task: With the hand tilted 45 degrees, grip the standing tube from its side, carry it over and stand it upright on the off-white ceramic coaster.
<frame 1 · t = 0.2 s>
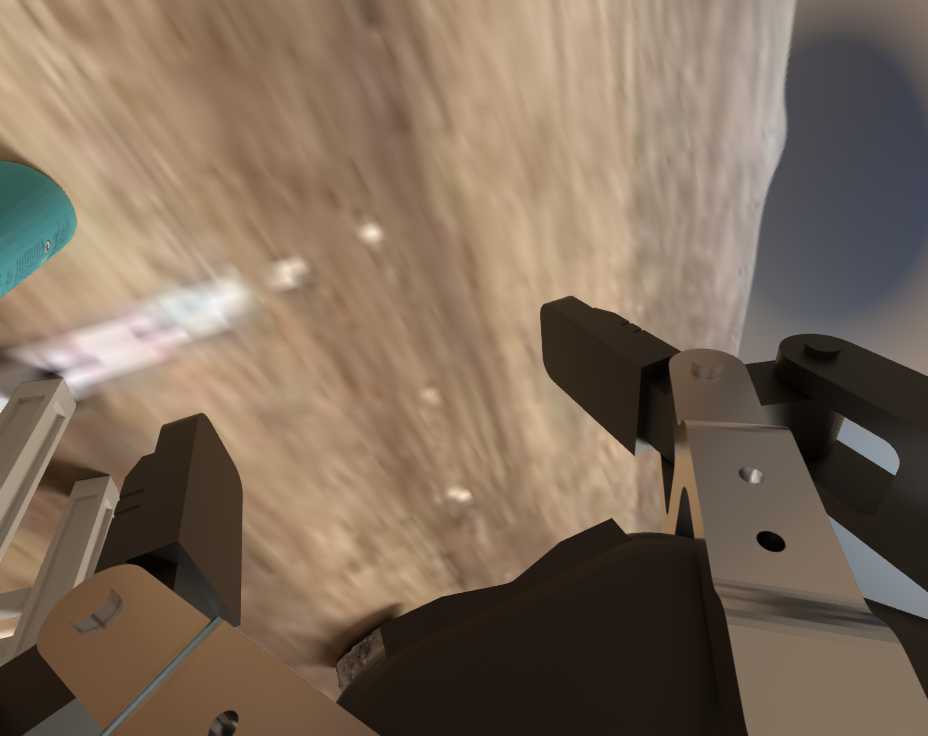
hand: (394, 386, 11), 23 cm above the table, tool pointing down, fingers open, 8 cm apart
mineral rock: (377, 638, 62), on the table
tube: (17, 206, 25), on the table
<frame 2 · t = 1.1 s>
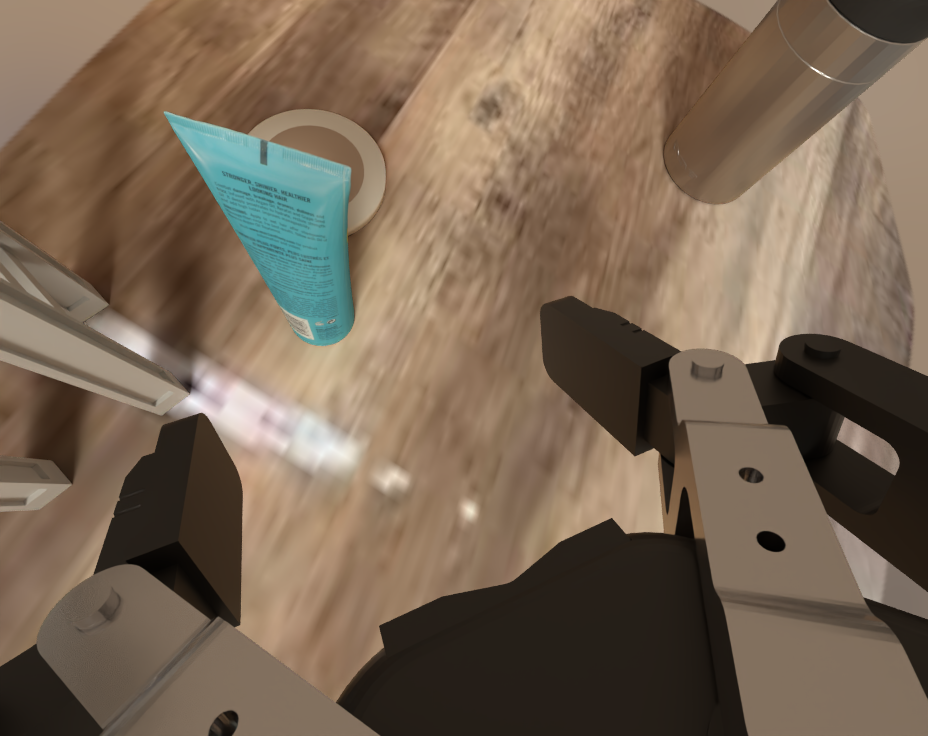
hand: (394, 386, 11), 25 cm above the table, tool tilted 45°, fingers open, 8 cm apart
stool: (68, 390, 33), on the table
tube: (322, 316, 37), on the table
coaster: (314, 178, 40), on the table
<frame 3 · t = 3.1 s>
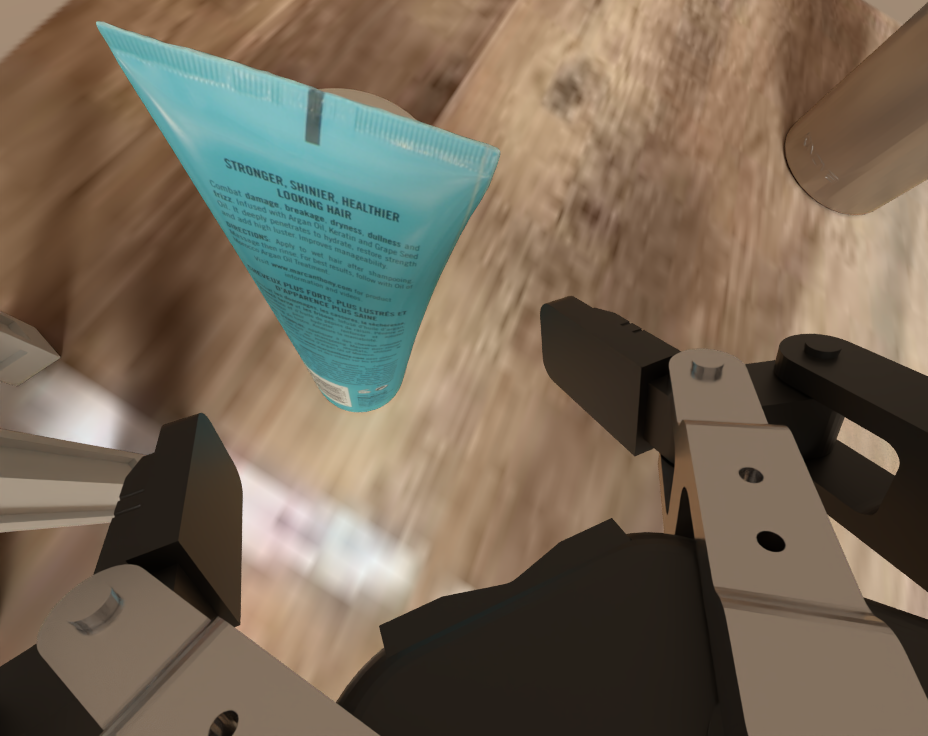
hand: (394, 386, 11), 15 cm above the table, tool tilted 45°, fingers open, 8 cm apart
tube: (359, 369, 27), on the table
coaster: (345, 180, 30), on the table
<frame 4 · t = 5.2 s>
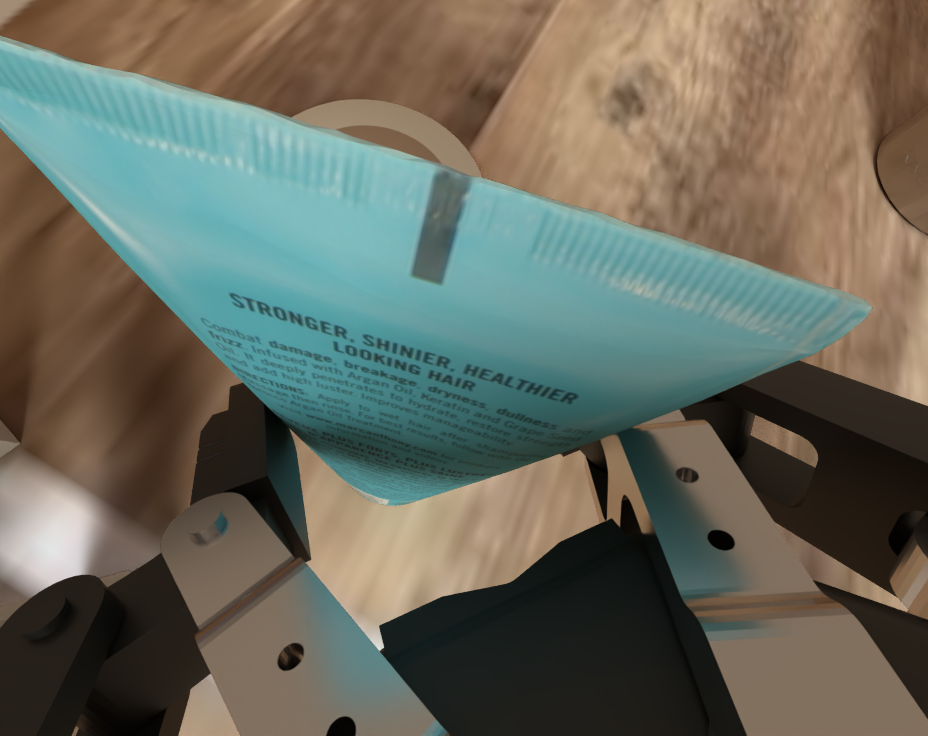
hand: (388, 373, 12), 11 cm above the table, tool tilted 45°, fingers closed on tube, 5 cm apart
tube: (392, 447, 22), on the table, touching gripper
coaster: (372, 211, 25), on the table
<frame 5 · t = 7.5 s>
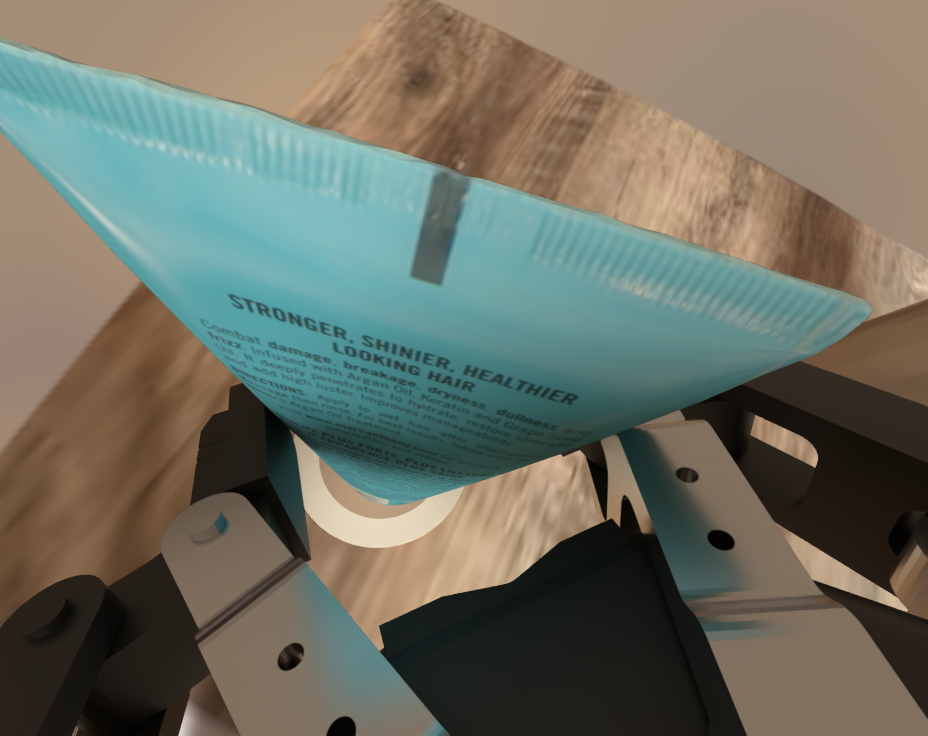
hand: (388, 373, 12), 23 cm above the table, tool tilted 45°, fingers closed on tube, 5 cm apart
tube: (393, 447, 22), point 12 cm above the table, touching gripper
coaster: (383, 455, 33), on the table
when the fingers open (13 cm above the table, at t = 9.9 s): tube drops 1 cm, resting on coaster.
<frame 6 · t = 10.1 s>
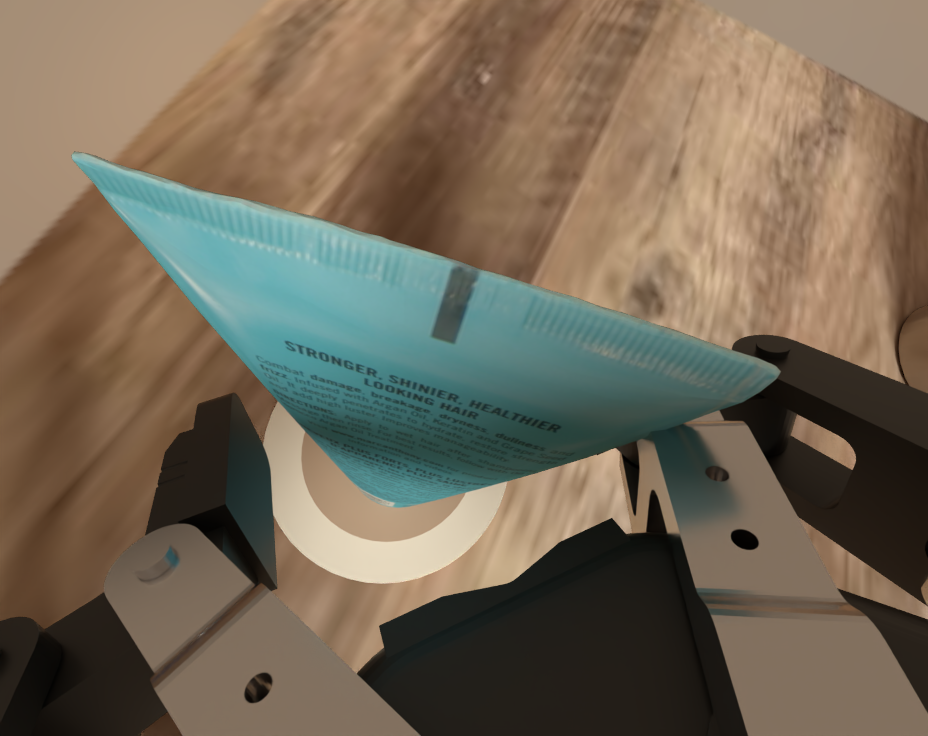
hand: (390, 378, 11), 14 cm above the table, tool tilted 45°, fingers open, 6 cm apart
tube: (398, 452, 23), point 1 cm above the table, touching coaster
coaster: (390, 452, 24), on the table
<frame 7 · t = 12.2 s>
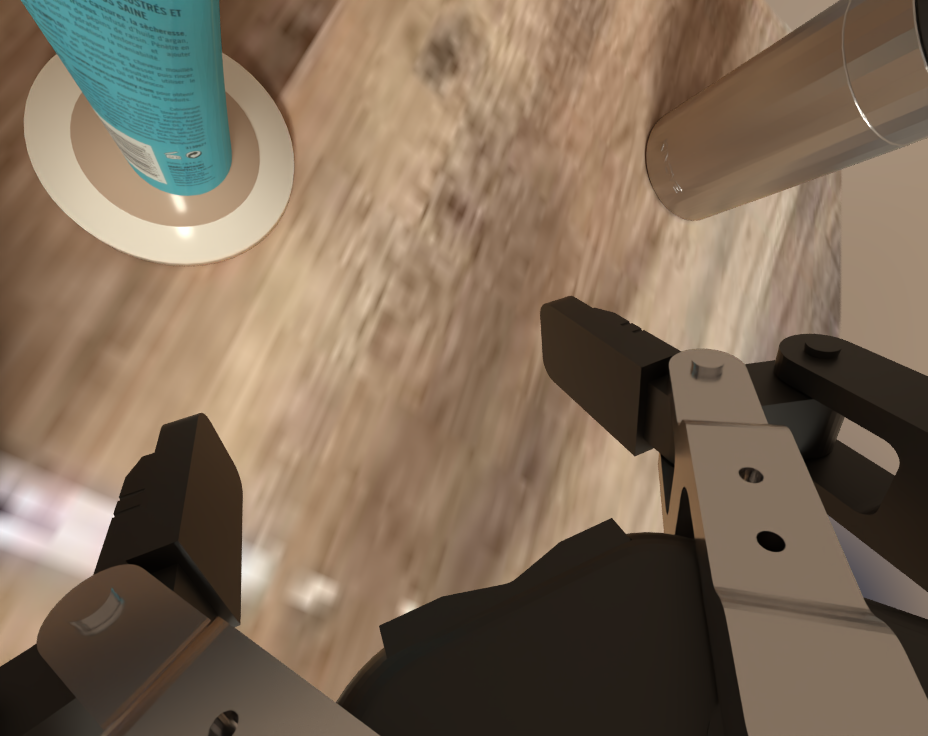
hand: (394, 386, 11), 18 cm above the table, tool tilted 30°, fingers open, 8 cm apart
tube: (179, 149, 25), point 1 cm above the table, touching coaster
coaster: (175, 156, 26), on the table
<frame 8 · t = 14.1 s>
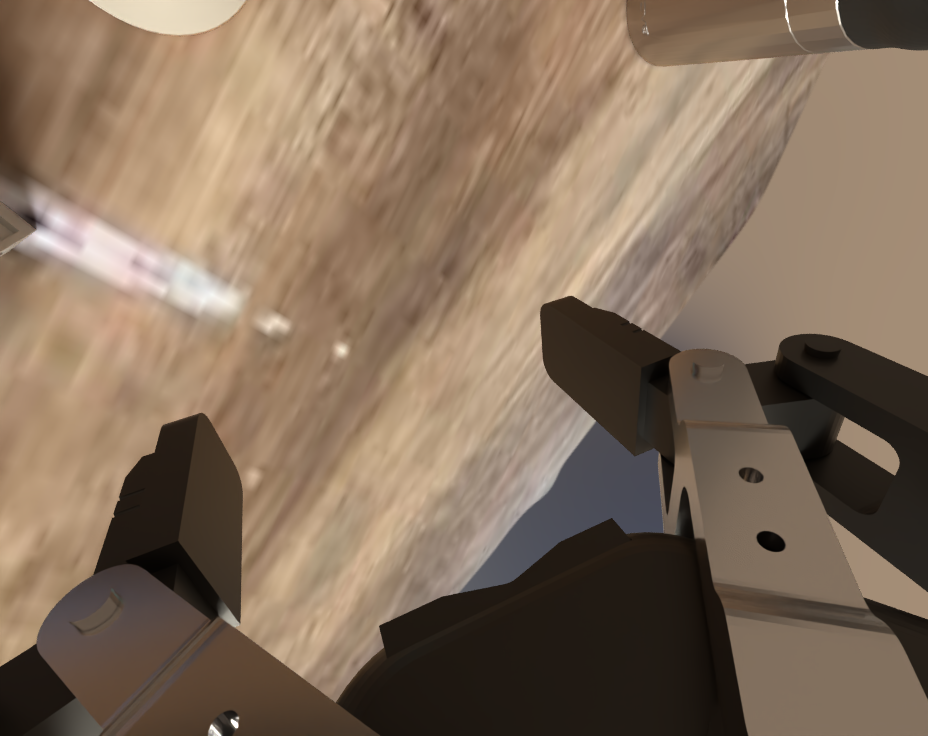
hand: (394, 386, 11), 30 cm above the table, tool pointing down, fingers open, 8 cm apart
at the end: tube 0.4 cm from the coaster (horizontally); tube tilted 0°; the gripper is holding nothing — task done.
